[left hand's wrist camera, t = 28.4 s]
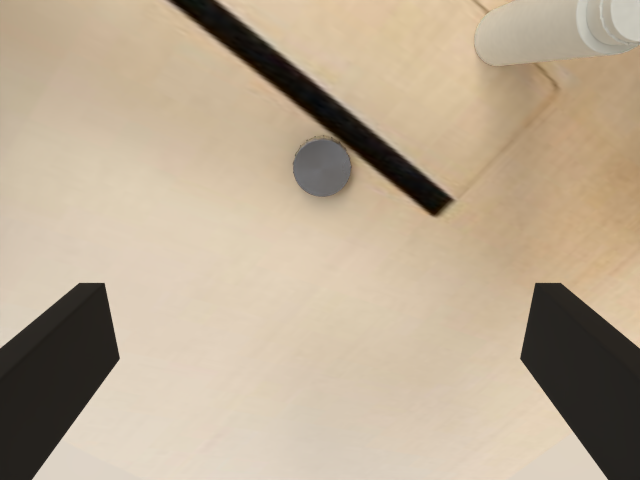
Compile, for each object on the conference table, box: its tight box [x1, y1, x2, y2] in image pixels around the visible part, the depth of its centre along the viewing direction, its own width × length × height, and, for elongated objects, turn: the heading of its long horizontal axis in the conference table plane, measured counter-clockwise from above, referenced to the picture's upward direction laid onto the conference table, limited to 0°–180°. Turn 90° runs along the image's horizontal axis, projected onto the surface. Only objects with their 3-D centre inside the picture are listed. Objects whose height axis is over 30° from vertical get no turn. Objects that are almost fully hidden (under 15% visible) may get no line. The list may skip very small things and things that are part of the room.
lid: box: [293, 136, 351, 196], centre depth 38 cm, size 5×5×2 cm
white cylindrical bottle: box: [474, 0, 640, 66], centre depth 27 cm, size 4×4×17 cm
